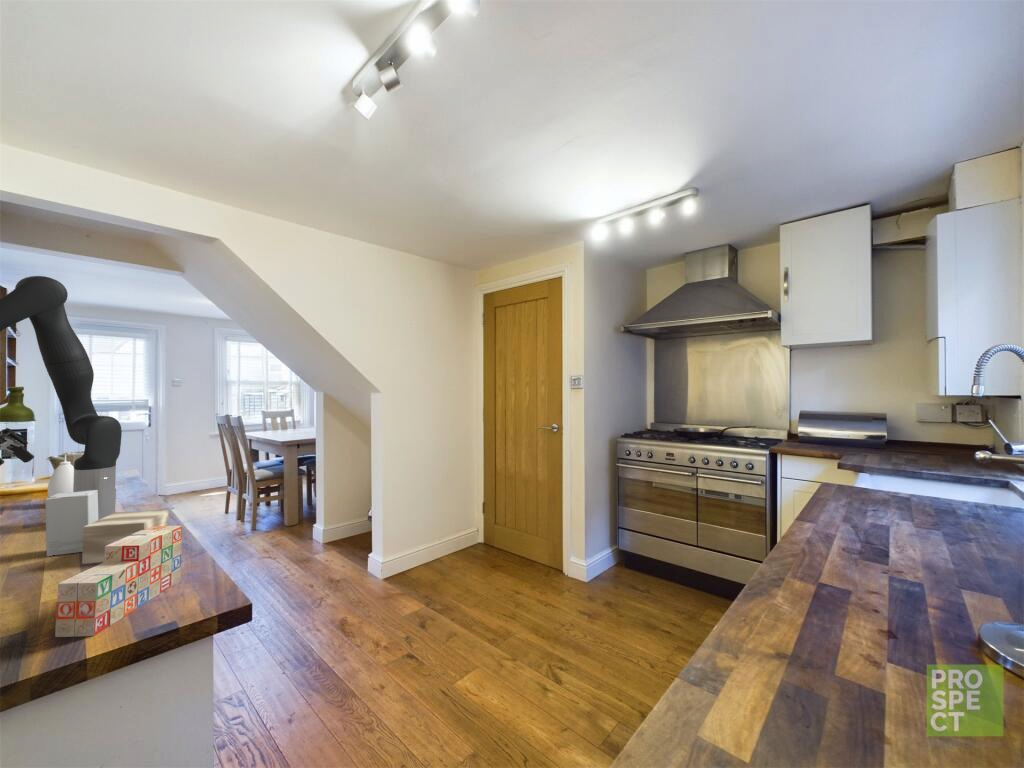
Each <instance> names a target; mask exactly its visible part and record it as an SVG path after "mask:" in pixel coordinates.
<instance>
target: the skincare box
mask: <svg viewBox="0 0 1024 768" xmlns="http://www.w3.org/2000/svg"><path fill="white" fill-rule="evenodd" d="M44 503H45V536H46V557H47V556H48V557H53V555H55V556H59V555H60V556H61V555H68V554H69V555H70V554H75V553H76V554H77V553H83V528H84V526H86V525H89V524H91V523H93V522H95V521H97V520H98V490H90V491H80V492H70V493H58V494H55V495H53V496H51V497H49V496H48V497H47V498H46V499H45V502H44Z"/></svg>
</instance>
